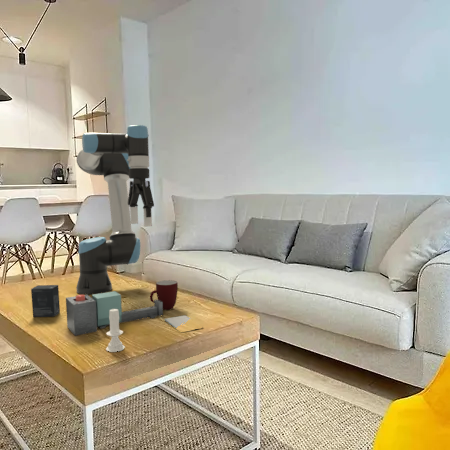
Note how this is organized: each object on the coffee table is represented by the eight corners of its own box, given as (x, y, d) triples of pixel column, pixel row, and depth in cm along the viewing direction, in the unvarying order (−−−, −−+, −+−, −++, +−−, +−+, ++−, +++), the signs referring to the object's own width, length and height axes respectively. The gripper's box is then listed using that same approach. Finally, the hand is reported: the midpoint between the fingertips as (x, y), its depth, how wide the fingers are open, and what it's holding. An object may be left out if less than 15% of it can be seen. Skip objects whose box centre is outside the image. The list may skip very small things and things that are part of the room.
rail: (90, 324, 148) (89, 310, 148) (157, 312, 161) (156, 298, 161) (95, 329, 143) (94, 314, 143) (164, 316, 156) (163, 302, 156)
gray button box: (67, 327, 146) (65, 297, 145) (88, 323, 150) (87, 294, 149) (74, 335, 138) (73, 304, 137) (97, 331, 141) (95, 301, 140)
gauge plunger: (75, 306, 143) (74, 295, 143) (84, 304, 145) (83, 294, 144) (77, 308, 141) (77, 297, 141) (86, 306, 142) (85, 296, 142)
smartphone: (180, 331, 138) (163, 318, 151) (180, 334, 138) (163, 321, 151) (204, 327, 142) (185, 314, 155) (204, 330, 142) (185, 317, 155)
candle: (102, 351, 124) (100, 310, 123) (110, 344, 129) (109, 305, 128) (120, 352, 123) (118, 311, 122) (127, 345, 128) (126, 305, 127)
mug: (155, 314, 159) (154, 287, 158) (147, 308, 166) (146, 282, 165) (181, 309, 164) (180, 283, 163) (173, 304, 171) (172, 279, 170)
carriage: (93, 321, 149) (91, 294, 148) (116, 317, 153) (115, 291, 152) (98, 326, 144) (97, 298, 143) (122, 322, 148) (120, 294, 147)
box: (60, 312, 163) (58, 284, 162) (54, 317, 157) (52, 288, 156) (39, 312, 163) (37, 284, 162) (32, 317, 158) (30, 288, 157)
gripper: (117, 169, 171) (120, 223, 173) (142, 166, 150) (144, 228, 152) (136, 169, 175) (138, 222, 177) (162, 166, 154) (164, 226, 156)
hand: (141, 225), depth 165 cm, fingers open, 13 cm apart
